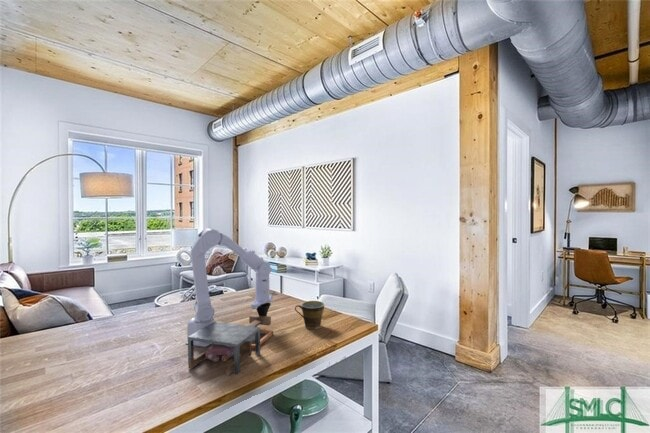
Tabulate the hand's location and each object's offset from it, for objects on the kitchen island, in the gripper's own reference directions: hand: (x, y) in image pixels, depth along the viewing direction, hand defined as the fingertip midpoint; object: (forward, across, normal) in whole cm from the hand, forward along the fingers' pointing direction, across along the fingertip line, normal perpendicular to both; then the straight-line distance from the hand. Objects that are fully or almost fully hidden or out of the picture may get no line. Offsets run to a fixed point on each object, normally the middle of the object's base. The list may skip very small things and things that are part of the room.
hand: (262, 320), depth 130 cm
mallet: (+4, -18, 0) cm, 19 cm away
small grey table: (+4, -26, 0) cm, 26 cm away
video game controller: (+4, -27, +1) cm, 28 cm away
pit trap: (+4, -10, 0) cm, 11 cm away
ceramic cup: (+4, +9, -18) cm, 20 cm away
